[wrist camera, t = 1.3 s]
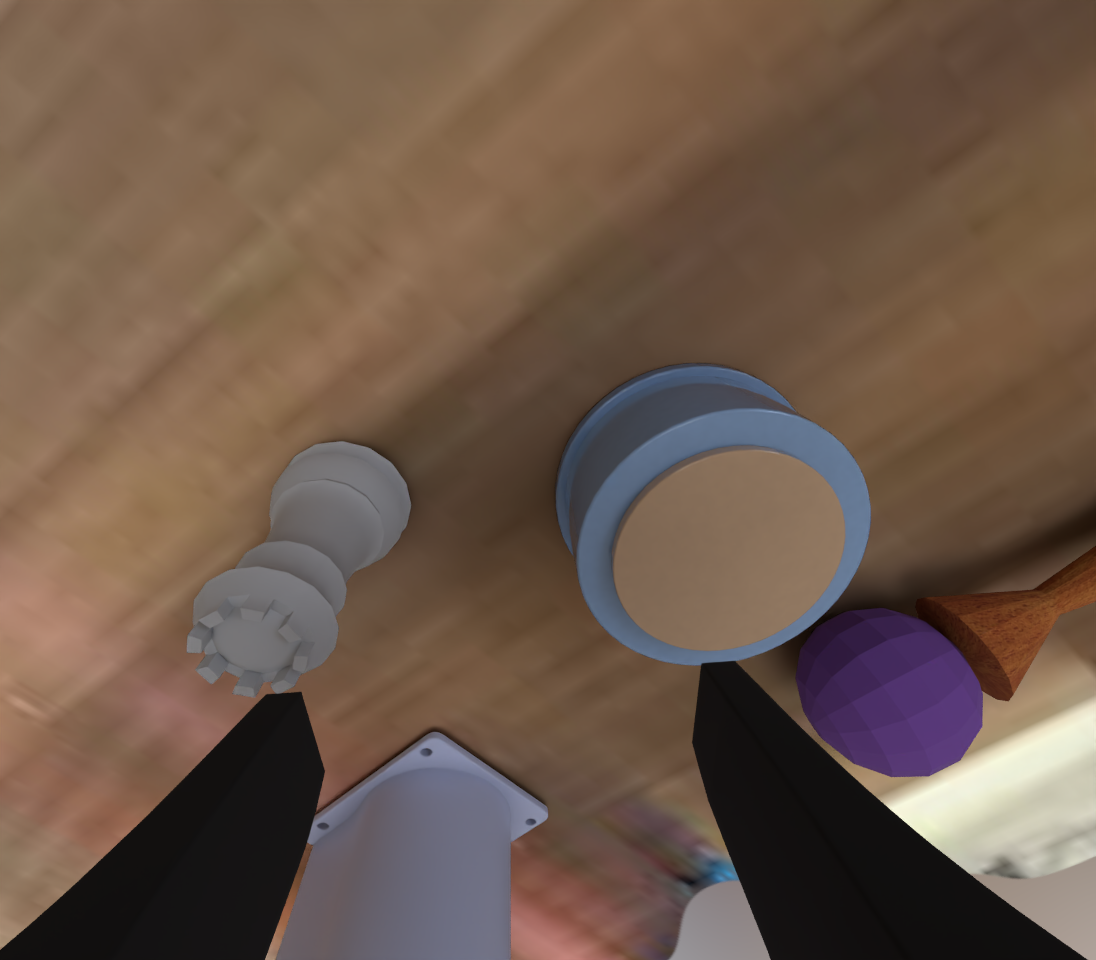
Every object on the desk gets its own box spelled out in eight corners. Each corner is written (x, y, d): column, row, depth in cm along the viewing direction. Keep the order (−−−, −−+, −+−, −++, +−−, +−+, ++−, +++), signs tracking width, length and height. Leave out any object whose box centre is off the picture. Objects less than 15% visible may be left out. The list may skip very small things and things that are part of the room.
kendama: (1407, 566, 18) (878, 830, 20) (1191, 478, 23) (784, 695, 25) (1499, 438, 15) (856, 767, 16) (1224, 368, 20) (752, 626, 21)
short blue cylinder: (653, 631, 22) (688, 726, 18) (501, 482, 19) (498, 554, 15) (849, 495, 20) (943, 565, 16) (716, 302, 17) (788, 321, 12)
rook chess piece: (320, 562, 20) (210, 747, 13) (260, 458, 18) (90, 603, 11) (432, 529, 20) (386, 698, 12) (382, 419, 18) (293, 542, 10)
